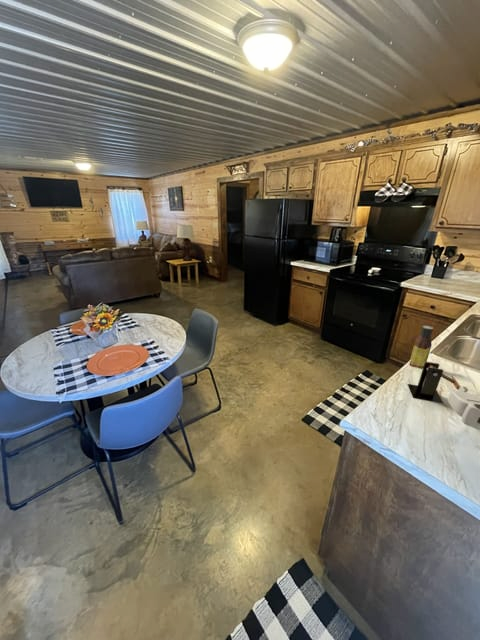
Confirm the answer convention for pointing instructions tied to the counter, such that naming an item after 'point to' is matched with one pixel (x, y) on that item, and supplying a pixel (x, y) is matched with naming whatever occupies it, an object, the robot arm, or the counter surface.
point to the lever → (448, 378)
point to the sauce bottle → (421, 348)
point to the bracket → (427, 384)
